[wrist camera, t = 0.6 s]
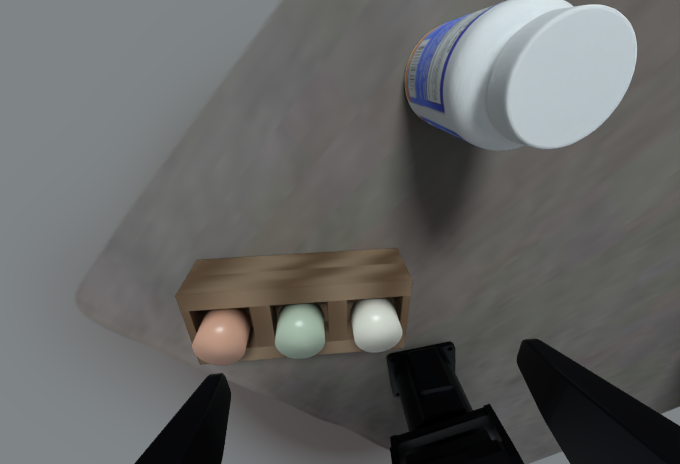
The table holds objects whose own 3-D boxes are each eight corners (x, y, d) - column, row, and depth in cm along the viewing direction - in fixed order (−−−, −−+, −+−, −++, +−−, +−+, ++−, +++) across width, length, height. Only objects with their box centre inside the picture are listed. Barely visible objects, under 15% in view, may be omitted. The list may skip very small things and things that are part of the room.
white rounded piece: (395, 293, 21) (404, 316, 19) (392, 326, 22) (400, 350, 20) (350, 296, 21) (354, 319, 19) (350, 329, 22) (354, 354, 20)
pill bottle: (507, 83, 18) (683, 95, 10) (431, 143, 19) (526, 201, 11) (465, -6, 16) (646, -92, 7) (383, 70, 17) (454, 71, 9)
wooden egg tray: (396, 248, 23) (412, 280, 20) (391, 310, 26) (403, 347, 23) (196, 259, 22) (175, 295, 18) (215, 323, 25) (199, 364, 22)
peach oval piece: (247, 303, 20) (240, 328, 18) (254, 337, 22) (248, 363, 20) (198, 306, 20) (186, 332, 18) (209, 340, 21) (199, 367, 20)
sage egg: (322, 298, 20) (324, 322, 19) (324, 331, 22) (326, 356, 20) (275, 301, 20) (272, 325, 18) (280, 334, 22) (278, 360, 20)
